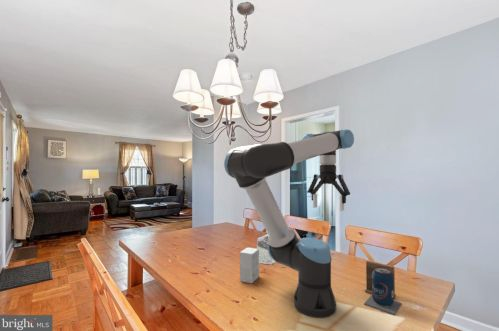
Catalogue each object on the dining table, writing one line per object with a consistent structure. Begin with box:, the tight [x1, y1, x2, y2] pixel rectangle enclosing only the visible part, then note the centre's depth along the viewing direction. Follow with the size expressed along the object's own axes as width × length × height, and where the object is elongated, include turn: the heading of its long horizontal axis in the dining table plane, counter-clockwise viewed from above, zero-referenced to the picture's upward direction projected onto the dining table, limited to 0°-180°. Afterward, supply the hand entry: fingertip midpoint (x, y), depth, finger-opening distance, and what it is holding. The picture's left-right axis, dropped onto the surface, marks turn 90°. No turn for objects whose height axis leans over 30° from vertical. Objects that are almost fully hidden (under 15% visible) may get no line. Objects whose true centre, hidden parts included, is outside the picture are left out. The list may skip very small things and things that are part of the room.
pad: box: [363, 294, 403, 316], centre depth 91 cm, size 10×10×1 cm
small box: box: [239, 247, 260, 284], centre depth 113 cm, size 8×6×13 cm
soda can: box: [372, 267, 395, 307], centre depth 91 cm, size 7×7×12 cm
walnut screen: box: [364, 260, 397, 300], centre depth 99 cm, size 5×10×12 cm, turn 47°
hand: (328, 208), depth 117 cm, fingers open, 13 cm apart
